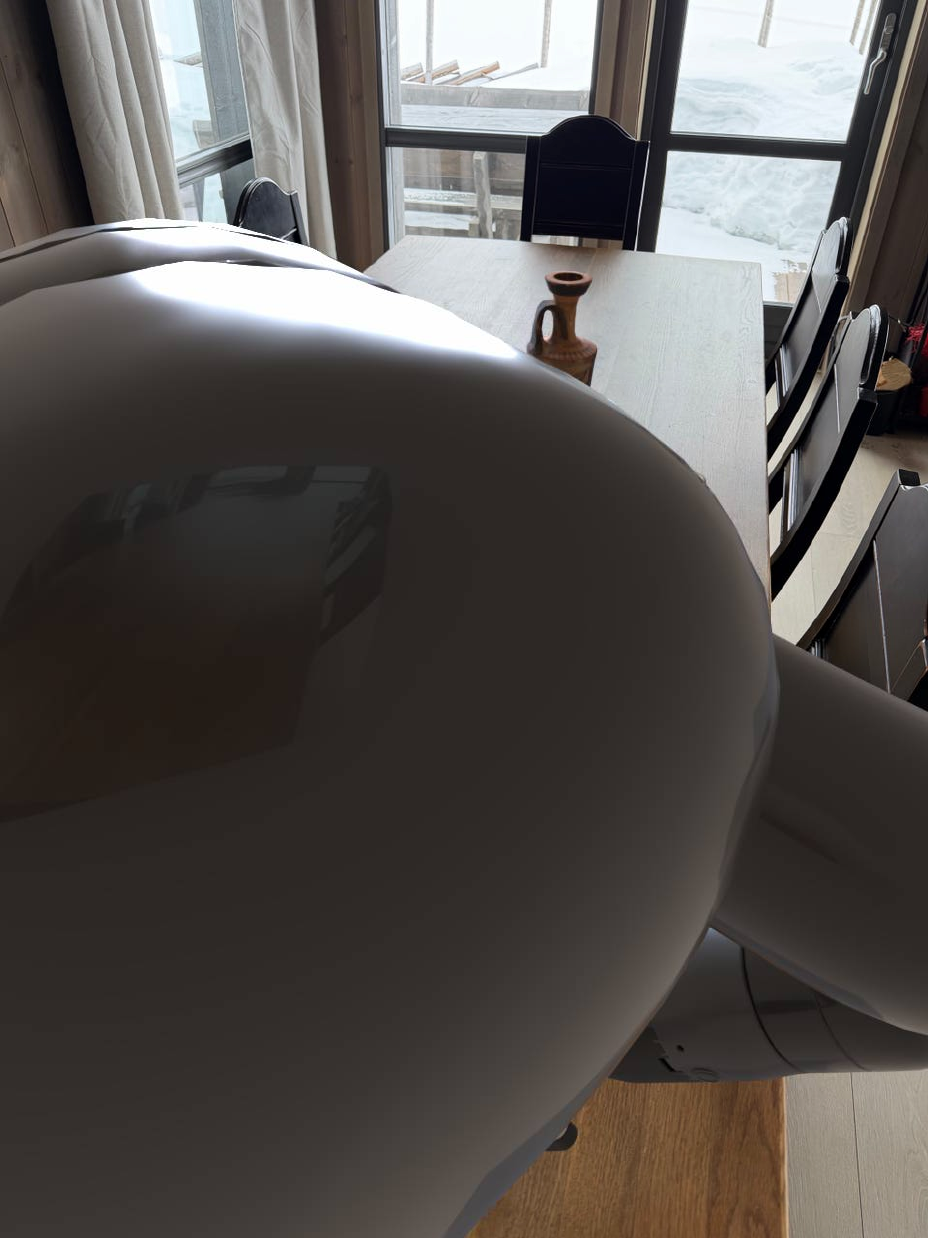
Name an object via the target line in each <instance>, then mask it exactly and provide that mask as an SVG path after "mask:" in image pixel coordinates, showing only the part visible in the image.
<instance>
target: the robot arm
mask: <svg viewBox="0 0 928 1238" xmlns="http://www.w3.org/2000/svg"><path fill="white" fill-rule="evenodd" d="M693 469H694V468H692V467H691V466H690V464H688V462H687V461H686V460H685V459H684V458H683V457H682V456H681V455H679V454H678V453H677V452H675V450H673V449H672V448H671V447H669V446H668V445H667V444H666V443H664V442H663V441H662V440H661V439H660V438H659V437H657V435H655V434H654V433H653V432H651V431H650V430H648V428H646V427H645V426H644V425H643V424H641V423H640V422H639V421H638V420H637V419H636V418H634V417H632V415H630V414H629V413H628V412H627V411H625V410H624V409H623V408H621V406H620V405H618V404H617V403H615V402H614V401H613V400H612V399H610V398H609V397H607V396H605V395H604V394H602V393H600V392H599V391H597V390H596V389H594V388H592V386H591V387H589V386H587V385H586V384H584V383H582V382H581V381H579V380H577V379H576V378H574V377H572V376H571V375H569V374H567V373H566V372H564V371H561V370H559V369H557V368H555V367H552V366H550V365H548V364H546V363H544V362H542V361H540V360H538V359H536V358H534V357H532V356H531V355H529V354H527V352H525V351H523V350H521V349H519V348H517V347H515V346H514V345H511V344H509V343H508V342H506V341H504V340H502V339H500V338H498V337H496V336H494V335H493V334H490V333H488V332H487V331H485V330H482V329H481V328H479V327H477V326H475V325H473V324H471V323H469V322H467V321H464V320H463V319H462V318H460V317H458V316H457V315H455V314H454V313H453V312H451V311H449V310H446V309H444V308H442V307H441V306H437V305H435V304H433V303H430V302H428V301H425V300H422V299H419V298H415V297H411V296H409V295H407V294H406V293H403V292H401V291H400V290H397V289H395V288H393V287H391V286H389V285H387V284H385V283H383V282H381V281H378V280H377V279H374V278H372V277H370V276H368V275H366V274H364V273H362V272H360V271H358V270H356V269H355V268H353V267H351V266H349V265H347V264H345V263H344V262H341V261H340V260H337V259H335V258H333V257H332V256H330V255H326V254H324V253H321V252H320V251H317V250H316V249H314V248H312V247H308V246H305V245H302V244H299V243H296V242H292V241H288V240H285V239H281V238H278V237H274V236H270V235H266V234H263V233H260V232H255V231H252V230H248V229H245V228H241V227H237V226H234V225H230V224H227V223H217V222H216V223H215V222H201V221H200V222H199V221H189V220H186V221H185V220H174V219H173V220H172V219H158V218H157V219H156V218H140V219H132V220H125V221H124V220H123V221H118V222H110V223H103V224H95V225H89V226H80V227H74V228H73V227H72V228H66V229H62V230H59V231H56V232H53V233H51V234H48V235H45V236H43V237H40V238H36V239H33V240H30V241H28V242H25V243H23V244H20V245H17V246H14V247H12V248H9V249H5V250H3V251H0V1238H466V1236H467V1235H468V1234H470V1232H471V1231H472V1230H473V1229H474V1228H475V1227H476V1226H477V1225H478V1224H479V1223H480V1221H482V1219H483V1218H484V1217H485V1216H486V1215H487V1214H488V1213H489V1212H490V1211H491V1210H492V1208H493V1207H494V1206H495V1205H496V1204H497V1203H498V1202H499V1201H500V1200H501V1199H502V1198H503V1197H504V1196H505V1195H506V1193H507V1192H508V1191H510V1189H511V1188H512V1187H513V1186H514V1185H515V1184H516V1183H517V1182H518V1181H519V1180H520V1178H521V1177H522V1176H523V1175H524V1174H525V1173H526V1172H527V1171H528V1170H529V1169H530V1168H531V1167H532V1166H533V1165H534V1163H535V1162H536V1161H538V1160H539V1158H540V1157H541V1156H542V1155H543V1154H544V1153H545V1152H565V1151H567V1150H570V1149H571V1148H572V1147H573V1146H574V1145H575V1143H576V1141H577V1139H578V1135H579V1130H578V1127H577V1125H576V1124H575V1123H573V1122H572V1121H573V1120H574V1118H575V1117H576V1116H577V1115H578V1114H579V1112H580V1111H581V1110H582V1109H583V1108H584V1106H585V1105H587V1103H588V1102H589V1100H590V1099H591V1098H592V1097H593V1096H594V1095H595V1094H596V1092H597V1091H598V1090H599V1089H600V1088H601V1086H603V1084H604V1083H605V1082H606V1080H608V1079H612V1080H616V1081H620V1082H625V1083H631V1084H674V1083H675V1084H678V1083H681V1084H683V1083H686V1084H687V1083H713V1084H715V1083H728V1082H729V1083H732V1082H734V1083H735V1082H737V1083H738V1082H739V1083H741V1082H742V1083H743V1082H765V1081H771V1080H776V1079H781V1078H785V1077H791V1076H797V1075H807V1074H840V1073H841V1074H844V1073H845V1074H846V1073H848V1074H849V1073H889V1072H891V1073H892V1072H893V1073H894V1072H916V1071H923V1070H928V711H926V710H924V709H923V708H921V707H919V706H916V705H914V704H913V703H911V702H909V701H906V700H904V699H902V698H900V697H899V696H896V695H894V694H892V693H890V692H888V691H886V690H884V689H882V688H880V687H878V686H876V685H874V684H872V683H871V682H868V681H866V680H864V679H862V678H860V677H858V676H856V675H854V674H852V673H850V672H849V671H846V670H845V669H843V668H840V667H839V666H836V665H834V664H833V663H830V662H829V661H827V660H825V659H823V658H821V657H819V656H817V655H815V654H814V653H811V652H810V651H807V650H805V649H804V648H802V647H799V646H798V645H796V644H794V643H793V642H791V641H789V640H787V639H785V638H783V637H782V636H780V635H778V634H776V633H774V632H773V626H772V619H771V613H770V608H769V602H768V597H767V592H766V588H765V585H764V583H763V582H762V579H761V578H760V576H759V574H758V572H757V569H756V568H755V566H754V564H753V562H752V561H751V558H750V556H749V554H748V552H747V549H746V547H745V544H744V542H743V540H742V537H741V535H740V533H739V531H738V528H737V527H736V525H735V524H734V522H733V520H732V519H731V517H730V516H729V514H728V513H727V511H726V509H725V507H723V505H722V503H721V502H720V499H718V497H717V496H716V494H715V493H714V491H713V490H712V489H711V488H710V486H709V485H707V483H706V484H705V482H704V481H703V480H702V479H701V478H700V477H699V476H698V475H697V473H696V472H695V471H694V470H693Z"/></svg>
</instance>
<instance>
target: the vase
mask: <svg viewBox="0 0 928 1238" xmlns="http://www.w3.org/2000/svg"><path fill="white" fill-rule="evenodd" d="M544 280H545V283H546V286H547V289H548V291H549V292H550V293H551V295H552V297H553V298H552V299H543V300H542V301H540V303H539V304H538V305H537V307H536V309H535V314H534V319H533V322H532V326H531V327H532V328H531V335H530V338H529V339H530V340H529V341H528V342H527V344H526V345H525V347H526V353H527V354H529V355H531V356H532V357H534V358H536V359H538V360H540V361H542V362H544V363H546V364H548V365H550V366H552V367H555V368H557V369H559V370H561V371H564V372H566V373H567V374H569V375H571V376H572V377H574V378H576V379H577V380H579V381H581V382H582V383H584V384H586V385H587V386H589V387H591V388H592V382H593V381H592V380H593V374H594V370H595V369H594V368H595V363H596V359H597V355H598V347H597V345H596V344H595V342H593V341H591V340H589V339H587V338H585V337H581V336H578V335H577V334H576V317H577V309H578V307H577V306H578V302H579V300H580V298H581V297H582V296H584V295H585V294H586V293H587V292H588V290H589V288H590V286H591V284H592V283H593V277H592V275H590V274H588V273H585V272H581V271H576V270H575V271H574V270H554V271H551V272H548V273H547V274H545V275H544ZM547 311H549V312H551V317H552V328H551V332H550V334H544V333H543V324H544V318H545V315H546V312H547Z"/></svg>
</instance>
